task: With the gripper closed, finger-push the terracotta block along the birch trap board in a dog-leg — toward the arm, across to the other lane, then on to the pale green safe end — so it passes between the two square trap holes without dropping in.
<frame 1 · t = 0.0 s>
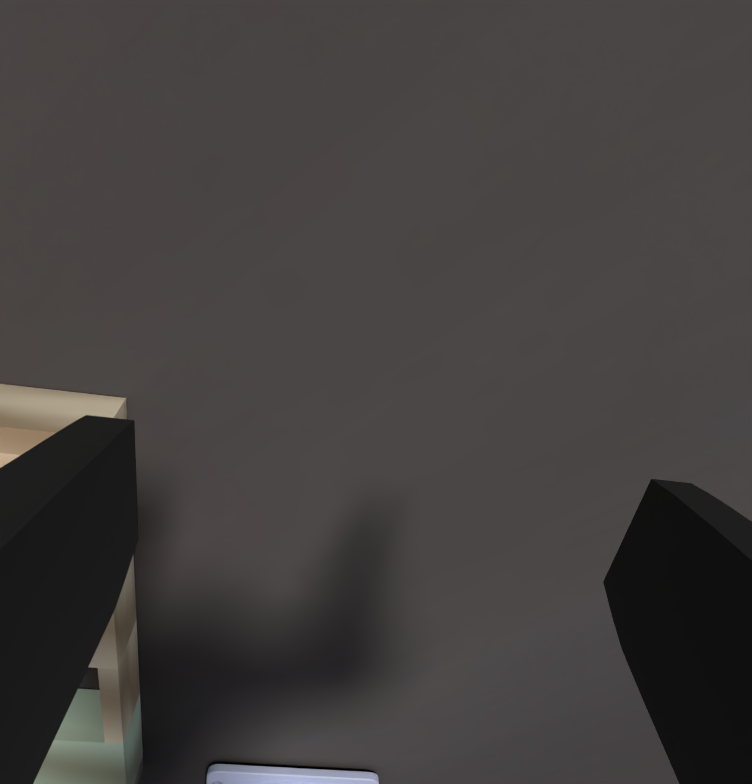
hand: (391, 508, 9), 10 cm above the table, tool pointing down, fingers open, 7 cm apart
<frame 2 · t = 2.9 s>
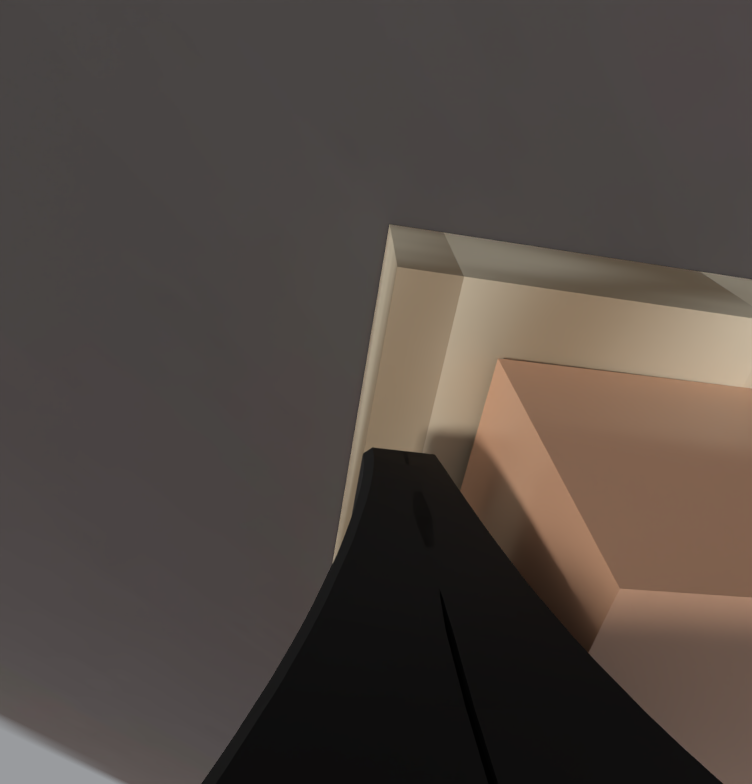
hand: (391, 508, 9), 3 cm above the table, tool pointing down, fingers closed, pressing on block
block: (589, 488, 10), point 2 cm above the table, touching gripper, trap board
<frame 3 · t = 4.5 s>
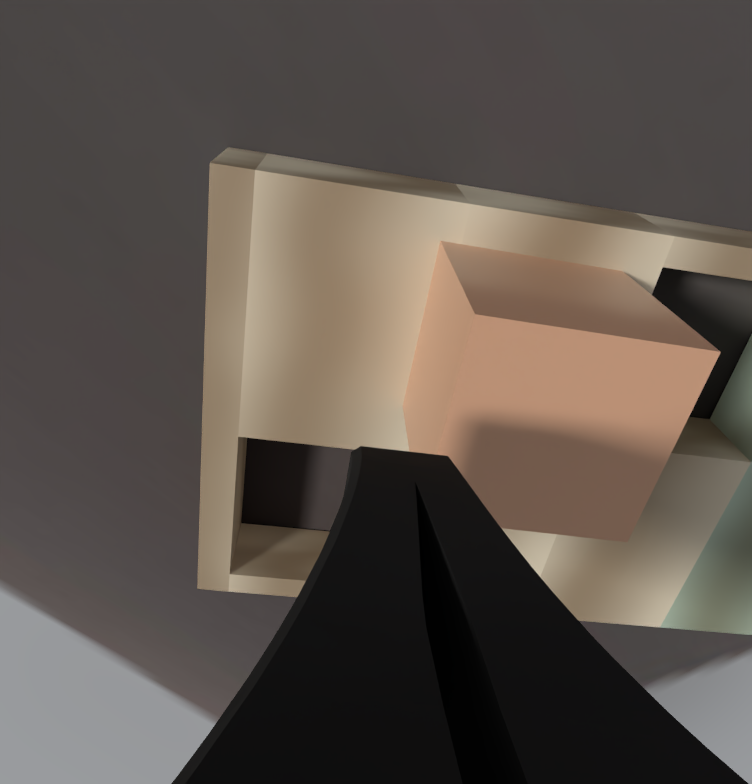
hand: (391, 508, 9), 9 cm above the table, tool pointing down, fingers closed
block: (506, 342, 15), point 2 cm above the table, touching trap board
trap board: (561, 416, 18), on the table
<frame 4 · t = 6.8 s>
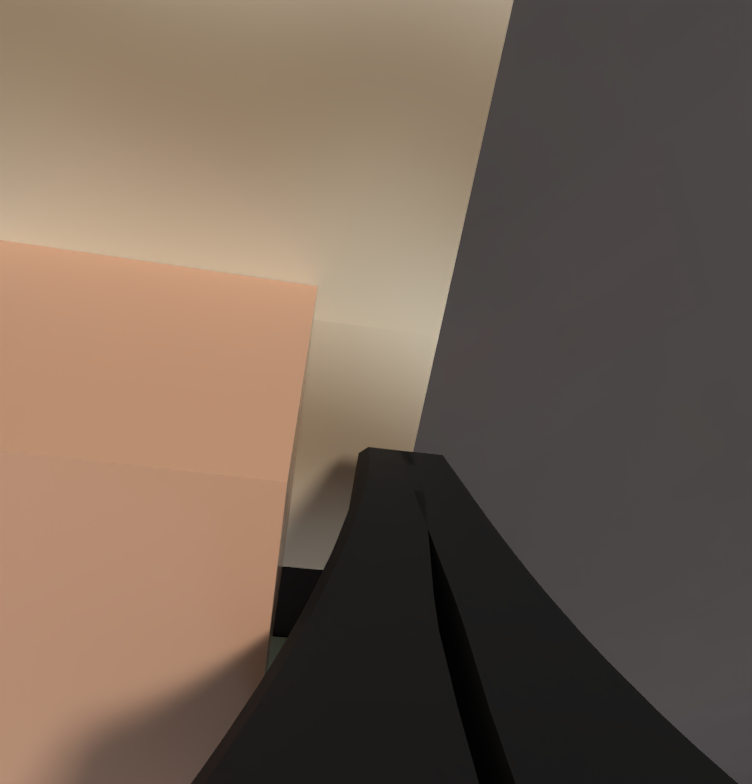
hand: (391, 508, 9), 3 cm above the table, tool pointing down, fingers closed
block: (155, 402, 9), point 2 cm above the table, touching gripper
trap board: (77, 464, 12), on the table
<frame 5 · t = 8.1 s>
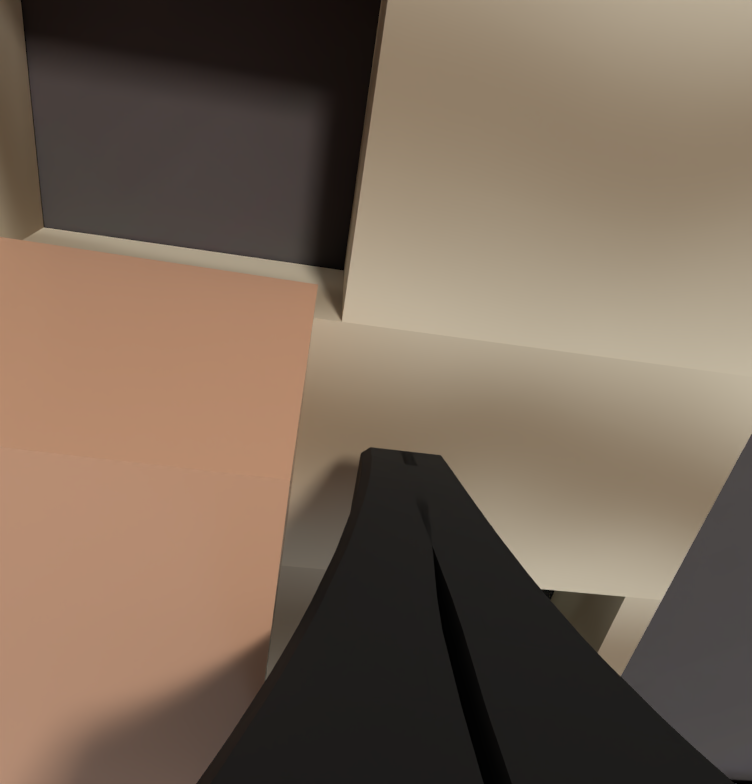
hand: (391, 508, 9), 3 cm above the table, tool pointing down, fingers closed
block: (155, 400, 9), point 2 cm above the table, touching gripper, trap board
trap board: (338, 490, 13), on the table
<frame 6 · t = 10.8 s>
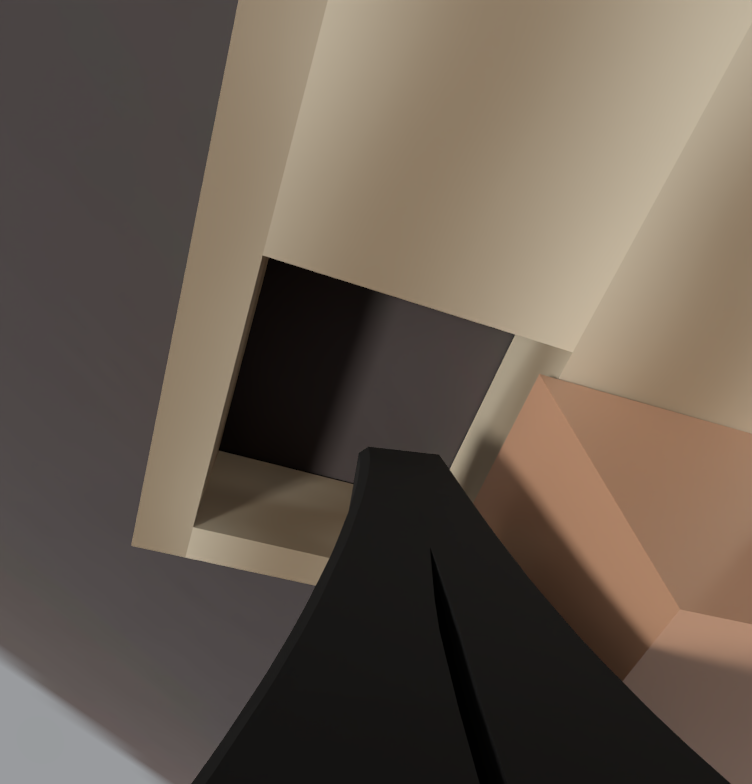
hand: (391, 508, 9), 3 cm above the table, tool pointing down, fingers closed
block: (598, 513, 10), point 2 cm above the table, touching gripper, trap board
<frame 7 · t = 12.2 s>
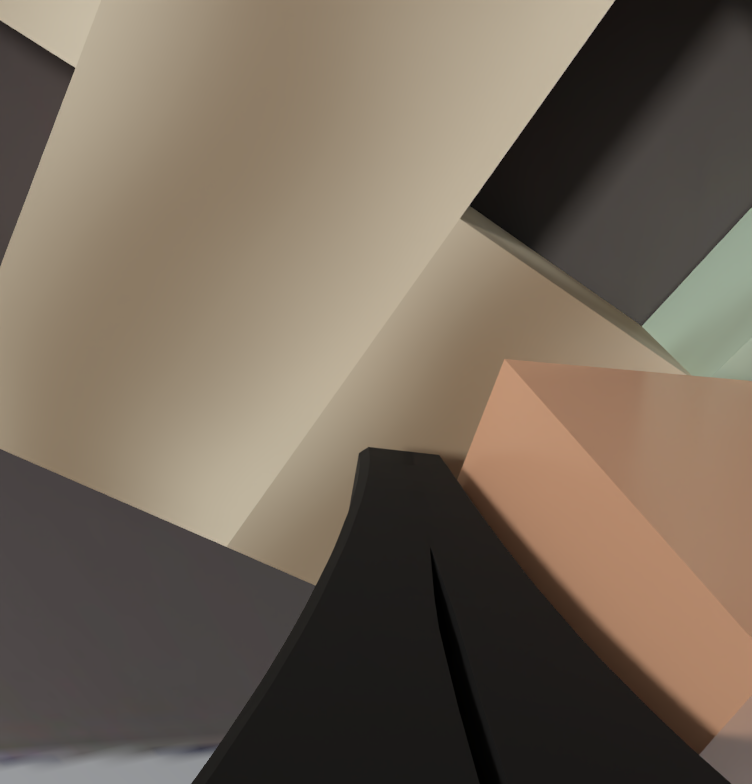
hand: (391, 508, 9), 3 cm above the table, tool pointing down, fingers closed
block: (576, 490, 9), point 3 cm above the table, tilted 15°, touching gripper, trap board
trap board: (420, 211, 10), on the table
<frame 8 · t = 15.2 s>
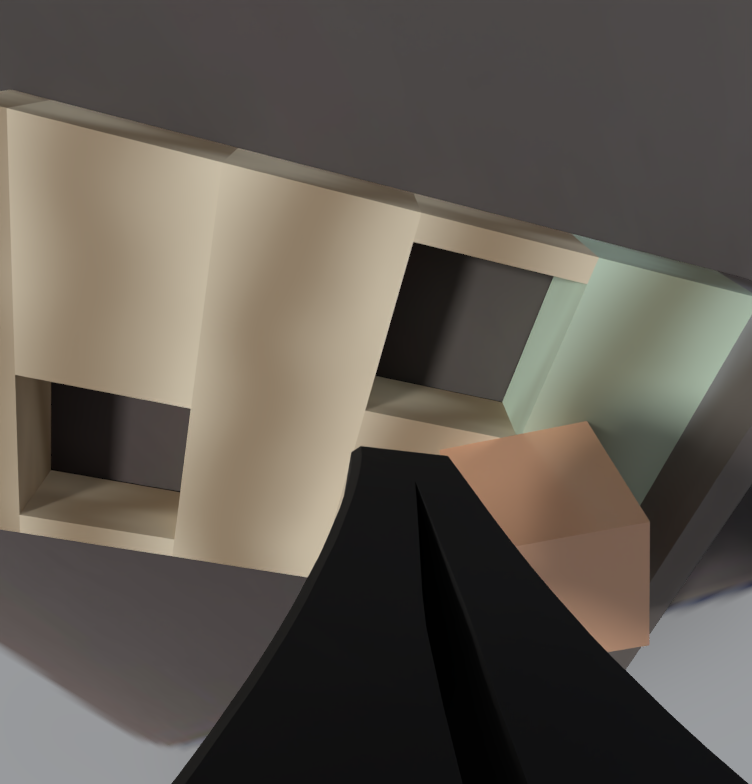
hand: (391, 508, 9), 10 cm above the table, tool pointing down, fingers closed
block: (519, 492, 18), point 2 cm above the table, touching trap board
trap board: (359, 387, 19), on the table
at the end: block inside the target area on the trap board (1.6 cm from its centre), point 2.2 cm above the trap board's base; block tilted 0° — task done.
